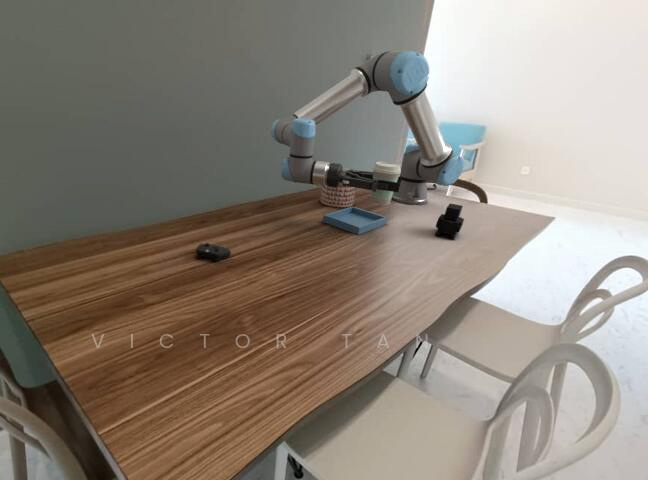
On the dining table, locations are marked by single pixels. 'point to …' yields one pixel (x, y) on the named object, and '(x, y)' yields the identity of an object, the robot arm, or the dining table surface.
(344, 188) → the planter
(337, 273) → the dining table surface
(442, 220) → the toy
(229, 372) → the dining table surface
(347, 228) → the tray
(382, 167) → the coffee cup
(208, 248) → the game controller
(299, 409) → the dining table surface
